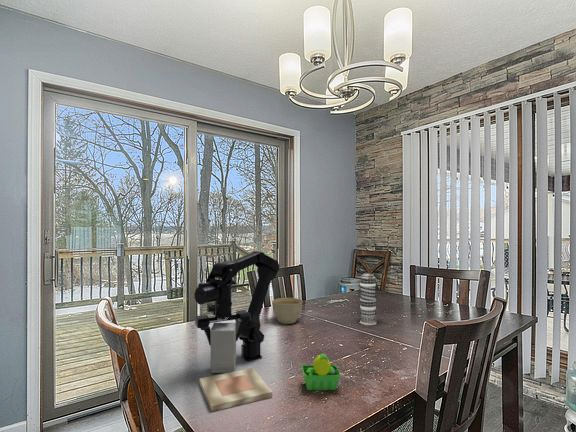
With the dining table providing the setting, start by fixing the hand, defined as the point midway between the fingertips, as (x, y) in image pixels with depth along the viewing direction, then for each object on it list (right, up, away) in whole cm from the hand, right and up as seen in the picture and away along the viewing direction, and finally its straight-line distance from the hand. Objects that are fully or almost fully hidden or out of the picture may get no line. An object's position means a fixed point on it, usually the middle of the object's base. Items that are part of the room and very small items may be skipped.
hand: (223, 343), depth 116 cm
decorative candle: (+64, -11, +55) cm, 85 cm away
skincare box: (0, -9, -1) cm, 9 cm away
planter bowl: (+22, -11, +57) cm, 63 cm away
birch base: (+6, -9, -14) cm, 18 cm away
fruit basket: (+33, -9, -13) cm, 37 cm away
